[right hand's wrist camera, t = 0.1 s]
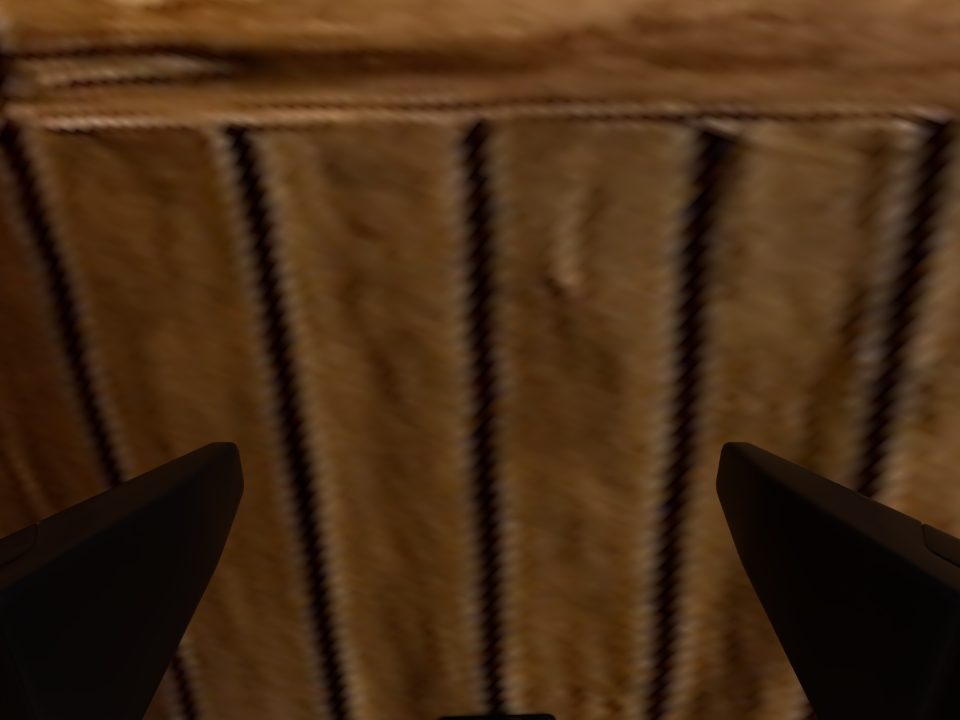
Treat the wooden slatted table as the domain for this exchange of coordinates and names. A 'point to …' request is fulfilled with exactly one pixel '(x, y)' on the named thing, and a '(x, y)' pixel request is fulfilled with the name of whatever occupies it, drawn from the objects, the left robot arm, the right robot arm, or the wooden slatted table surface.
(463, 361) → the wooden slatted table surface
